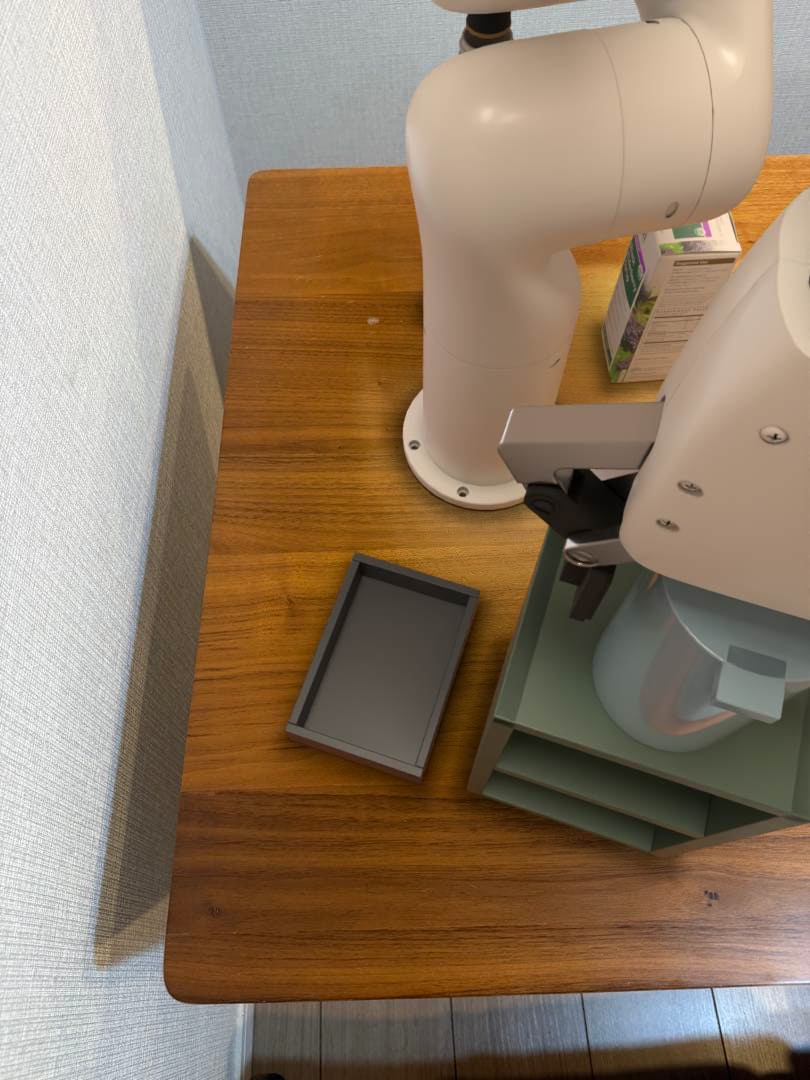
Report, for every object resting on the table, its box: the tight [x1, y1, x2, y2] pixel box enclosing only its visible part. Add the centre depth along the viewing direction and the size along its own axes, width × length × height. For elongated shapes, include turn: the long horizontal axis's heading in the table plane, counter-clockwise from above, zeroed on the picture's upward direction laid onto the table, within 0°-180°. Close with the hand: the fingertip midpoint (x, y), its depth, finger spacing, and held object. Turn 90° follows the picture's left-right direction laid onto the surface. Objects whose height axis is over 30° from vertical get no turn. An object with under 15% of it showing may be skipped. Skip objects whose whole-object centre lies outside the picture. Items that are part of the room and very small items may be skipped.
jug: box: [592, 567, 810, 752], centre depth 30 cm, size 10×6×11 cm, turn 161°
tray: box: [284, 552, 482, 786], centre depth 56 cm, size 13×9×3 cm
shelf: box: [465, 525, 810, 859], centre depth 45 cm, size 10×13×22 cm
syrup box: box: [600, 211, 743, 384], centre depth 62 cm, size 6×6×14 cm
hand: (726, 623), depth 28 cm, fingers open, 9 cm apart
